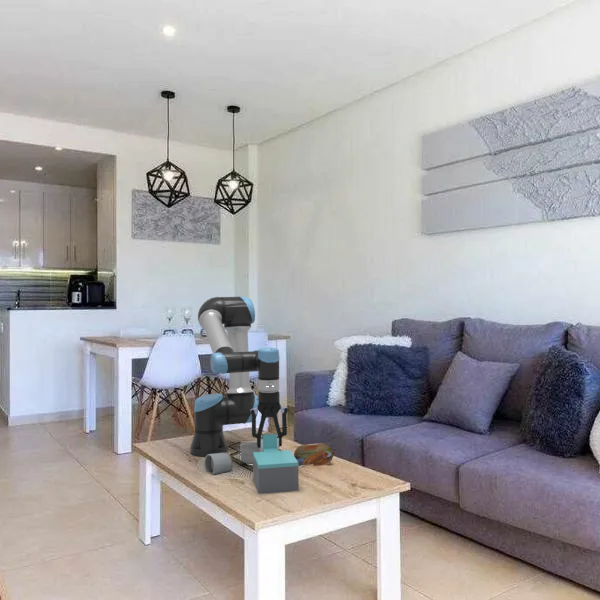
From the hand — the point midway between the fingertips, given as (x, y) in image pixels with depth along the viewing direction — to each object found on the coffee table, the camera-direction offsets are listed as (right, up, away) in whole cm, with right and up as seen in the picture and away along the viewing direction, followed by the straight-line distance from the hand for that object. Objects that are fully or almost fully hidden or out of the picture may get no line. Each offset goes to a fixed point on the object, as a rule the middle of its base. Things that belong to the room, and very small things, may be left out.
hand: (269, 455), depth 197 cm
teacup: (-5, -8, +14) cm, 17 cm away
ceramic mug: (-20, -8, +4) cm, 22 cm away
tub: (+3, -7, -12) cm, 14 cm away
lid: (+2, +1, -9) cm, 9 cm away
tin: (+16, -7, +12) cm, 21 cm away
